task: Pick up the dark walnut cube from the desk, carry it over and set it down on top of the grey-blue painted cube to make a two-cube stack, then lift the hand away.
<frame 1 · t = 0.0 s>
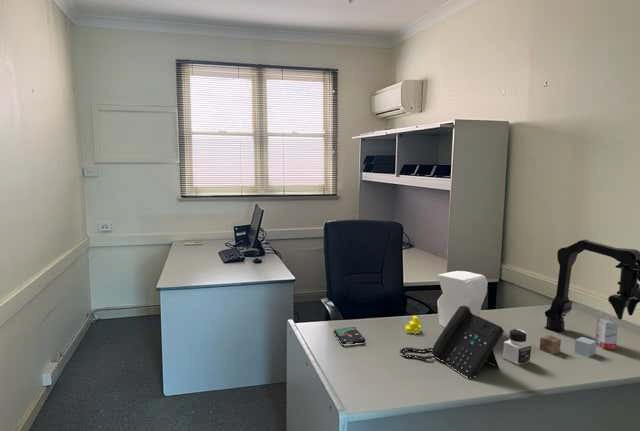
hand: (625, 317, 178), 15 cm above the table, tool pointing down, fingers open, 9 cm apart
walnut cube: (549, 350, 180), on the table
painted cube: (584, 353, 178), on the table
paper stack: (464, 327, 205), on the table
ink box: (605, 346, 185), on the table
disk drive: (348, 340, 191), on the table
yellow ball pyramid: (412, 332, 199), on the table
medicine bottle: (516, 360, 171), on the table
office phone: (447, 362, 170), on the table
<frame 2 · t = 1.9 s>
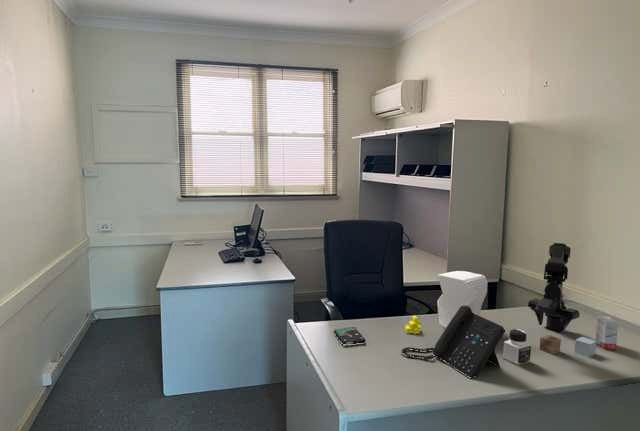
hand: (551, 328, 179), 9 cm above the table, tool pointing down, fingers open, 9 cm apart
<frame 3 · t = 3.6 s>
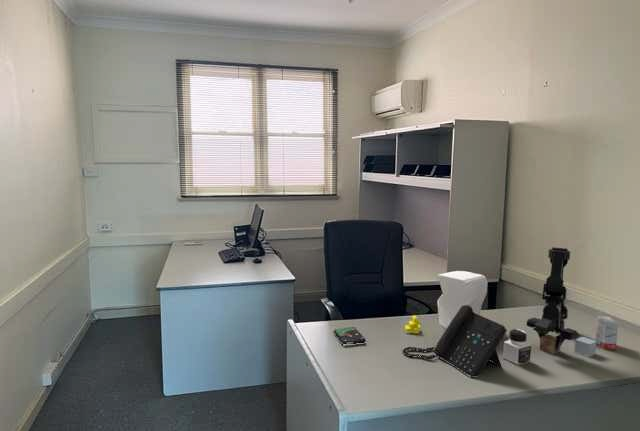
hand: (549, 348, 180), 1 cm above the table, tool pointing down, fingers closed on walnut cube, 5 cm apart
walnut cube: (549, 350, 180), on the table, touching gripper
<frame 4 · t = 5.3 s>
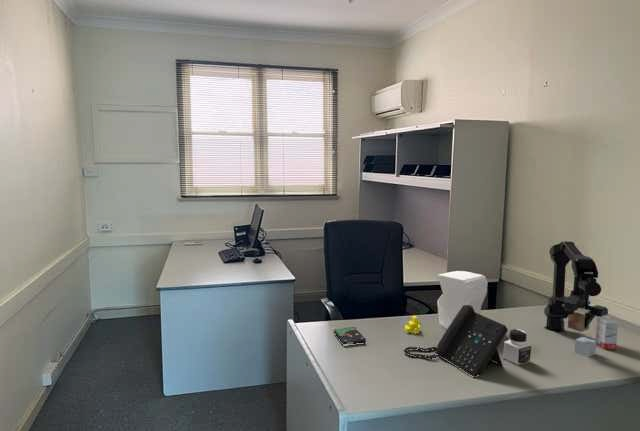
hand: (578, 325, 177), 11 cm above the table, tool pointing down, fingers closed on walnut cube, 5 cm apart
walnut cube: (578, 328, 177), point 10 cm above the table, touching gripper
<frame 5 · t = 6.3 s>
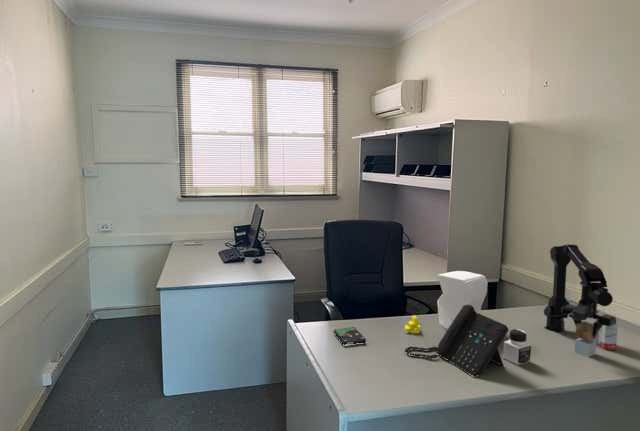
hand: (586, 335, 177), 8 cm above the table, tool pointing down, fingers closed on walnut cube, 5 cm apart
walnut cube: (585, 337, 177), point 7 cm above the table, touching gripper
when the fingers open (8 cm above the table, at t = 7.0 s): walnut cube drops 1 cm, resting on painted cube.
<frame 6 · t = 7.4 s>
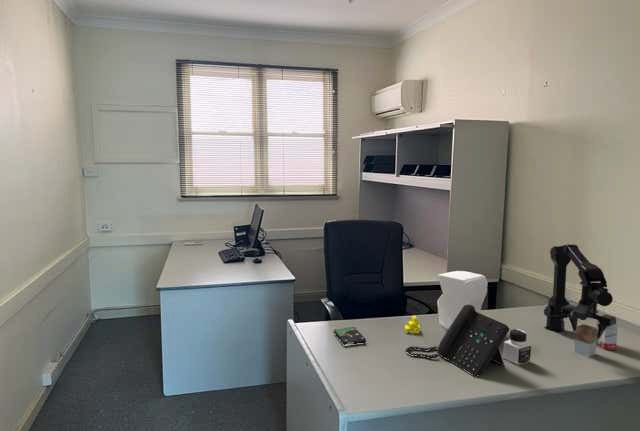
hand: (586, 335, 177), 8 cm above the table, tool pointing down, fingers open, 9 cm apart
walnut cube: (585, 340, 177), point 5 cm above the table, touching painted cube
painted cube: (584, 353, 178), on the table, touching walnut cube
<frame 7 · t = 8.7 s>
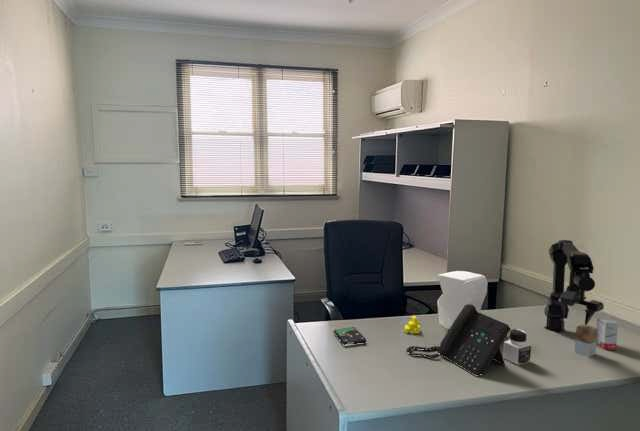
hand: (574, 321, 178), 13 cm above the table, tool pointing down, fingers open, 9 cm apart
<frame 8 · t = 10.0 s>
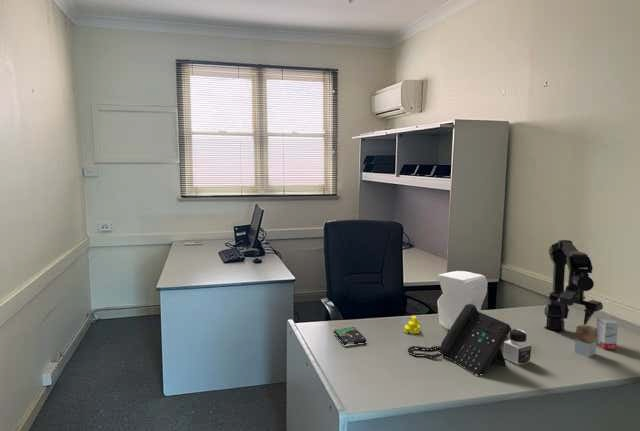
hand: (573, 320, 178), 13 cm above the table, tool pointing down, fingers open, 9 cm apart
at the end: walnut cube 0.1 cm off-centre on the painted cube, point 5.5 cm above the painted cube's base; the gripper is holding nothing; walnut cube tilted 0° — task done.
